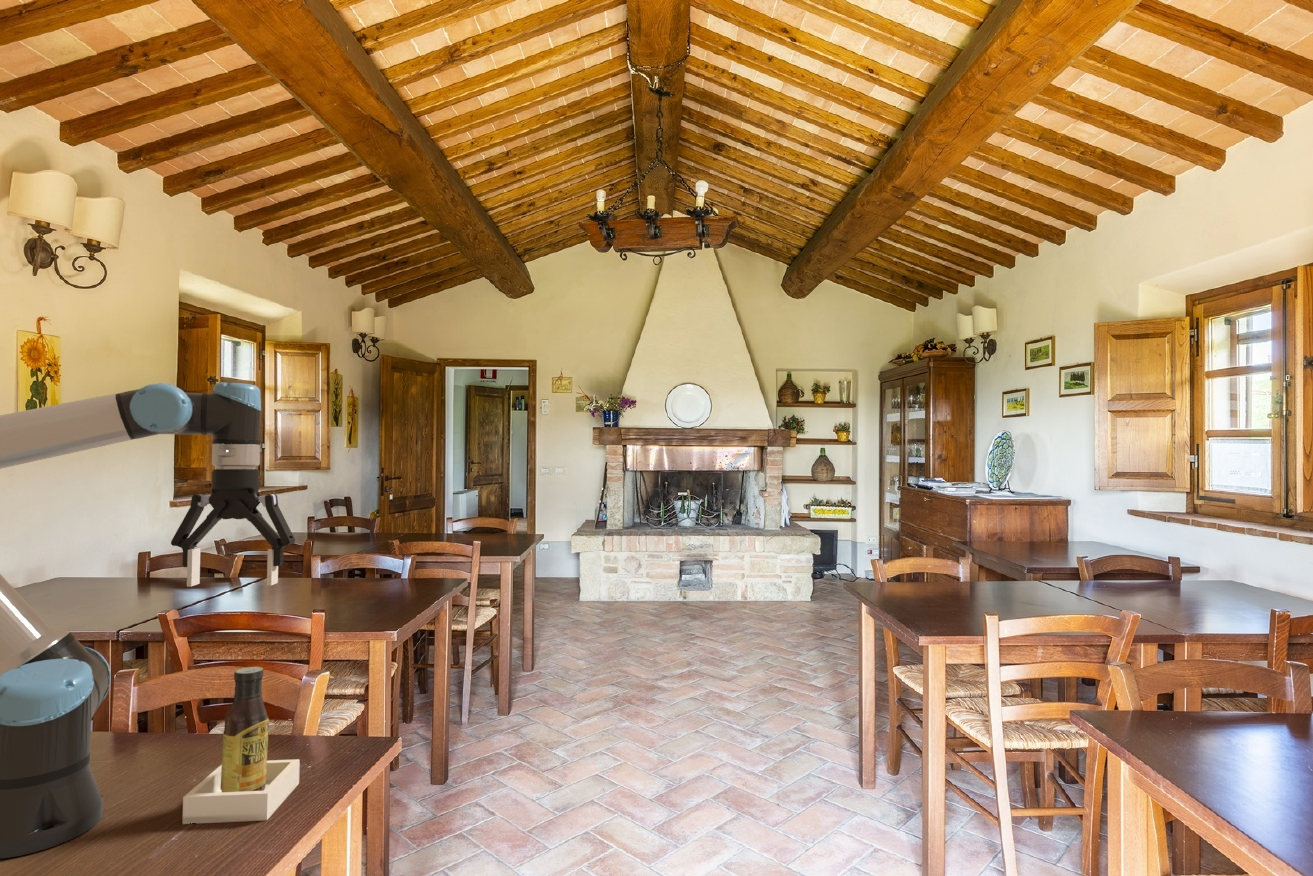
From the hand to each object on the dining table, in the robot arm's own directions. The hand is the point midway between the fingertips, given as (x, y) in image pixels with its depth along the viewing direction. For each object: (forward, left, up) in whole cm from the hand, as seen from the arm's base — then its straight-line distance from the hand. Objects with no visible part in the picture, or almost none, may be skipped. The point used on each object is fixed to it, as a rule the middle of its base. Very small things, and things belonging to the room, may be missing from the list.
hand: (233, 584), depth 126 cm
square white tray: (+10, -16, -32) cm, 37 cm away
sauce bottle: (+10, -16, -31) cm, 36 cm away
